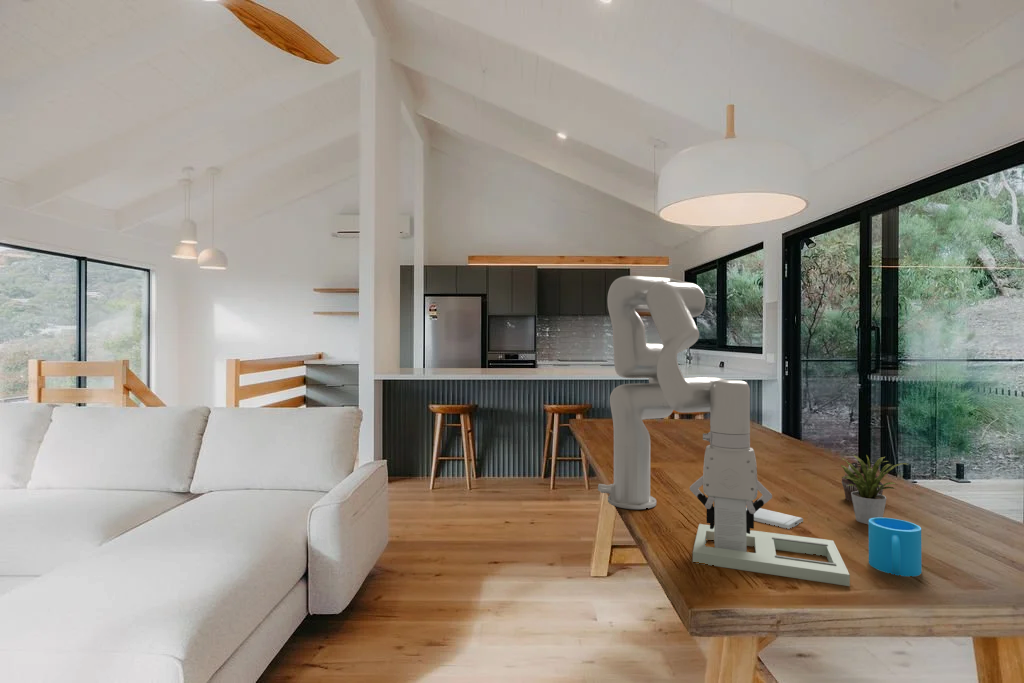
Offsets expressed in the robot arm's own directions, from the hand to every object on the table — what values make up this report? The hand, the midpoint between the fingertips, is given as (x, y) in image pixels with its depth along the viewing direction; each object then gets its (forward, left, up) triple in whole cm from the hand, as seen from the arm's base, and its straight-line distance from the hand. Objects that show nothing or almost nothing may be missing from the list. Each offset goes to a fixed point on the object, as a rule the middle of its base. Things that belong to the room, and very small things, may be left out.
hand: (729, 528), depth 110 cm
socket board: (+6, 0, -5) cm, 8 cm away
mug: (+28, +2, -5) cm, 29 cm away
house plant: (+31, +34, -5) cm, 47 cm away
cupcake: (+32, +53, -5) cm, 62 cm away
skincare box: (0, 0, -5) cm, 5 cm away
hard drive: (+8, +26, -5) cm, 28 cm away
